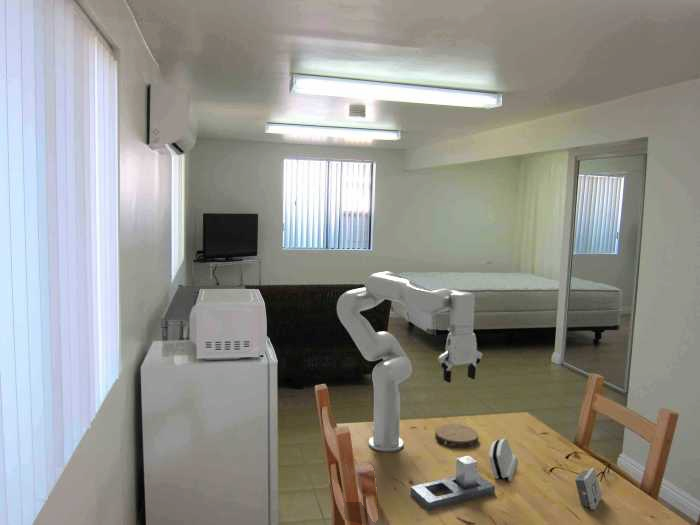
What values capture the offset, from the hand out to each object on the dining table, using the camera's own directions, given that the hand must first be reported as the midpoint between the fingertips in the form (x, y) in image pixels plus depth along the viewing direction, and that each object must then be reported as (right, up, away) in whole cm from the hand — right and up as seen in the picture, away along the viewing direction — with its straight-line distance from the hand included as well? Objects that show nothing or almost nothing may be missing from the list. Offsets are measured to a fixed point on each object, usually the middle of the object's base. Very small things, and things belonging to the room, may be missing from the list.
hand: (459, 379), depth 187 cm
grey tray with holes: (-5, -32, -15) cm, 36 cm away
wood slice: (+4, -28, +25) cm, 38 cm away
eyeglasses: (+40, -32, +1) cm, 51 cm away
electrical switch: (+35, -33, -18) cm, 52 cm away
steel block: (-1, -32, -13) cm, 34 cm away
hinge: (+15, -31, +2) cm, 34 cm away
